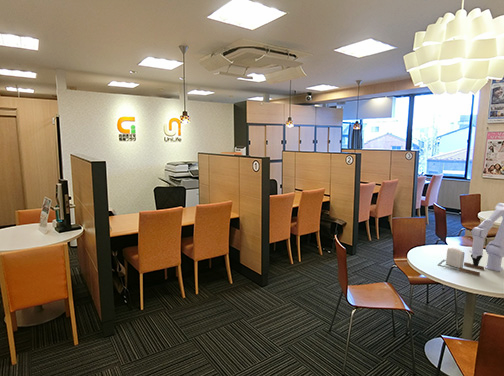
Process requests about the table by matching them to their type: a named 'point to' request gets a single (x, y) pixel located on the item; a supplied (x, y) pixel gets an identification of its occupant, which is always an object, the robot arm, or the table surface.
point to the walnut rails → (471, 270)
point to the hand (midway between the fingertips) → (475, 265)
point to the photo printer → (455, 257)
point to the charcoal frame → (444, 266)
